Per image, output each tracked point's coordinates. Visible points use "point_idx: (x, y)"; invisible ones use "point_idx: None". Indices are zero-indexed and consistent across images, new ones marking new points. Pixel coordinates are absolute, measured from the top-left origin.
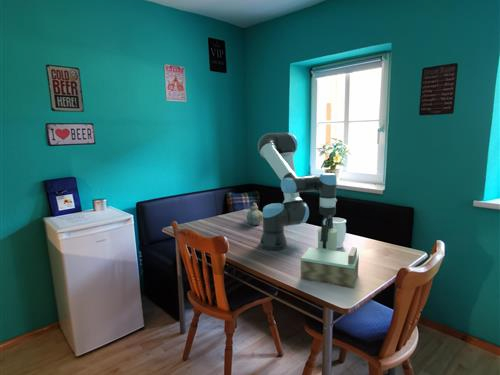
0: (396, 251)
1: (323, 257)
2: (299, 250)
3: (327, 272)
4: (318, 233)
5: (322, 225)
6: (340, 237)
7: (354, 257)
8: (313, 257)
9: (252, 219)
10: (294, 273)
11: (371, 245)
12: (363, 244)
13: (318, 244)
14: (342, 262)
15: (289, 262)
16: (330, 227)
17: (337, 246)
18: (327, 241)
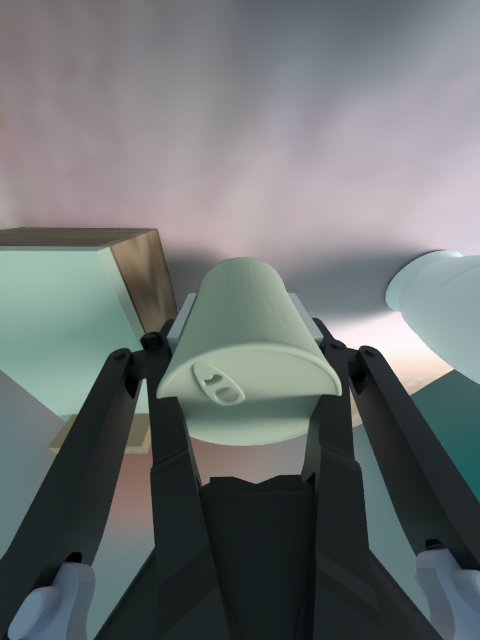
0: (355, 406)
1: (30, 354)
2: (364, 68)
3: None
4: (195, 337)
5: (19, 547)
6: (419, 334)
7: None
8: None
9: None
10: (29, 176)
11: (404, 371)
12: (417, 356)
13: (209, 287)
14: (61, 404)
15: (124, 68)
16: (309, 428)
17: (392, 298)
18: None
